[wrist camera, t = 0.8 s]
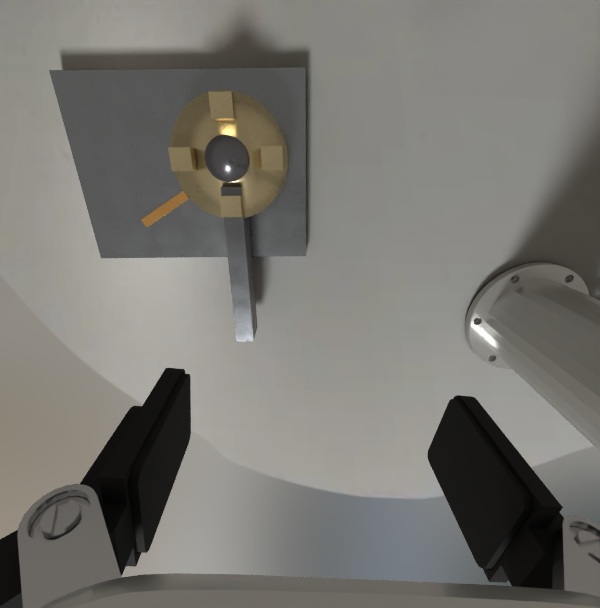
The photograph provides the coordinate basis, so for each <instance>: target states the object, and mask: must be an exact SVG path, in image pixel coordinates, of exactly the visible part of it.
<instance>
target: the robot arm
mask: <svg viewBox="0 0 600 608" xmlns="http://www.w3.org/2000/svg"><path fill="white" fill-rule="evenodd" d="M465 333H466V339H467V341H468V344H469V346H470V347H471V349H472V350H473V351H474V353H475V354H476V355H478V356H479V357H480V358H481V359H482V360H483V361H485V362H486V363H488V364H490V365H493V366H496V367H499V368H505V369H513V370H514V371H515V372H516V373H517V374H518V375H519V376H520V377H521V378H523V379H524V380H525V381H526V382H527V383H528V384H529V385H530V386H531V387H532V388H533V389H534V390H535V391H536V392H537V393H539V394H540V395H541V396H542V397H543V398H544V399H545V400H546V401H547V402H548V403H549V404H550V405H551V406H552V407H553V408H555V409H556V410H557V411H558V412H559V413H560V414H561V415H562V416H563V417H564V418H565V419H566V420H567V421H568V422H569V423H571V424H572V425H573V426H574V427H575V428H576V429H577V430H578V431H579V432H580V433H581V434H582V435H583V436H584V437H585V438H586V439H588V440H589V441H590V442H591V443H592V444H593V445H594V446H595V447H596V448H597V449H598V450H599V451H600V300H598V299H596V298H593V297H591V296H590V295H589V291H588V288H587V286H586V284H585V282H584V280H583V279H582V278H581V277H580V276H579V275H578V274H577V273H575V272H574V271H572V270H570V269H568V268H566V267H563V266H560V265H558V264H553V263H548V262H534V263H528V264H523V265H520V266H517V267H514V268H511V269H509V270H507V271H505V272H504V273H502V274H500V275H498V276H497V277H496V278H494V279H493V280H492V281H490V282H489V283H488V284H487V285H486V286H485V287H484V288H483V289H482V290H481V291H480V292H479V293H478V295H477V296H476V298H475V299H474V300H473V302H472V304H471V306H470V308H469V310H468V313H467V317H466V321H465ZM190 434H191V412H190V375H189V374H185V370H184V369H175V368H166V369H165V371H164V372H163V374H162V375H161V377H160V379H159V380H158V382H157V383H156V385H155V387H154V388H153V390H152V392H151V393H150V395H149V396H148V398H147V400H146V401H145V403H144V404H143V406H133V407H131V408H130V410H129V411H128V412H127V414H126V415H125V417H124V418H123V420H122V421H121V423H120V424H119V426H118V427H117V429H116V431H115V432H114V433H113V435H112V437H111V438H110V440H109V441H108V442H107V444H106V445H105V447H104V449H103V450H102V452H101V453H100V454H99V456H98V457H97V459H96V461H95V462H94V463H93V465H92V466H91V468H90V470H89V471H88V472H87V474H86V476H85V477H84V479H83V480H82V482H81V483H80V484H73V485H67V486H63V487H61V488H58V489H55V490H53V491H52V492H50V493H48V494H46V495H44V496H43V497H42V498H41V499H39V500H38V501H37V502H35V503H34V504H33V505H32V506H31V507H30V509H29V510H28V511H27V512H26V513H25V514H24V516H23V518H22V520H21V522H20V524H19V528H18V530H17V531H15V532H13V533H11V534H9V535H8V536H6V537H4V538H2V539H0V608H600V527H599V526H598V525H596V524H595V523H593V522H591V521H589V520H587V519H585V518H582V517H579V516H567V517H566V518H563V516H562V515H561V514H560V513H559V512H560V510H561V509H562V508H563V507H562V506H561V505H560V504H559V503H558V501H557V500H556V499H555V497H554V496H553V495H552V494H551V492H550V491H549V490H548V489H547V487H546V486H545V485H544V484H543V482H542V481H541V480H540V479H539V477H538V476H537V475H536V474H535V472H534V471H533V470H532V468H531V467H530V466H529V465H528V463H527V462H526V461H525V460H524V458H523V457H522V456H521V455H520V453H519V452H518V451H517V450H516V448H515V447H514V446H513V445H512V443H511V442H510V441H509V440H508V438H507V437H506V436H505V435H504V433H503V432H502V431H501V430H500V428H499V427H498V426H497V425H496V423H495V422H494V421H493V420H492V418H491V417H490V416H489V415H488V413H487V412H486V411H485V410H484V408H483V407H482V406H481V405H480V403H479V402H478V401H477V400H476V399H475V398H474V397H469V396H459V395H458V396H455V397H454V399H451V400H450V401H449V403H448V406H447V408H446V410H445V413H444V415H443V417H442V420H441V422H440V424H439V427H438V429H437V431H436V434H435V436H434V438H433V441H432V443H431V445H430V448H429V450H428V460H429V463H430V465H431V467H432V469H433V471H434V473H435V476H436V478H437V480H438V482H439V484H440V486H441V488H442V490H443V493H444V495H445V497H446V499H447V501H448V503H449V505H450V508H451V510H452V512H453V514H454V516H455V518H456V520H457V522H458V525H459V527H460V529H461V531H462V533H463V535H464V537H465V540H466V542H467V543H468V546H469V548H470V550H471V552H472V554H473V556H474V559H475V561H476V563H477V564H478V565H479V567H481V568H483V570H484V572H485V574H486V576H487V578H488V580H489V582H507V581H508V580H509V581H510V583H511V585H512V586H496V585H477V584H454V583H436V582H413V581H389V580H366V579H341V578H319V577H318V578H316V577H290V576H264V575H234V574H233V575H232V574H151V575H138V576H130V577H123V578H121V575H122V574H123V571H124V569H125V566H136V565H137V562H138V560H139V557H140V555H141V552H147V551H148V550H149V548H150V546H151V543H152V541H153V538H154V535H155V532H156V530H157V527H158V524H159V521H160V519H161V516H162V513H163V511H164V508H165V505H166V503H167V500H168V497H169V494H170V492H171V489H172V487H173V484H174V481H175V478H176V475H177V473H178V470H179V468H180V465H181V462H182V459H183V457H184V454H185V451H186V448H187V446H188V443H189V439H190Z"/></svg>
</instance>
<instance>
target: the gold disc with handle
mask: <svg viewBox="0 0 600 608" xmlns="http://www.w3.org/2000/svg"><path fill="white" fill-rule="evenodd" d="M168 151H169V157H170V163H171V169H172V171H174V173H175V176H176V178H177V180H178V182H179V184H180V186H181V187H182V189H183V191H184V192H185V193H186V195H187V196H188V197H189V198H190V199H191V200H192V201H193V202H194V203H195V204H196V205H197V206H199V207H200V208H201V209H203V210H205V211H206V212H208V213H210V214H212V215H215V216H218V217H222V218H224V225H225V234H226V243H227V253H228V262H229V272H230V281H231V290H232V300H233V309H234V318H235V328H236V337H237V341H254V337H255V333H256V330H257V316H256V302H255V289H254V276H253V262H252V249H251V235H250V222H249V217H250V216H252V215H255V214H257V213H259V212H261V211H262V210H264V209H265V208H266V207H267V206H268V205H270V204H271V203H272V202H273V200H274V199H275V198H276V197H277V195H278V194H279V192H280V191H281V189H282V187H283V185H284V183H285V180H286V176H287V171H288V151H287V146H286V142H285V139H284V136H283V134H282V132H281V130H280V128H279V126H278V124H277V122H276V121H275V119H274V118H273V116H272V115H271V114H270V113H269V111H268V110H267V109H266V108H265V107H264V106H263V105H262V104H260V103H259V102H257V101H256V100H255V99H253V98H251V97H249V96H248V95H245V94H243V93H240V92H236V91H232V90H215V91H211V92H207V93H204V94H202V95H200V96H198V97H197V98H195V99H193V100H192V101H191V102H190V103H189V104H188V105H186V107H185V108H184V109H183V110H182V112H181V113H180V115H179V116H178V118H177V120H176V122H175V125H174V127H173V131H172V135H171V142H170V147H168Z"/></svg>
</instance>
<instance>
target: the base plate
mask: <svg viewBox="0 0 600 608" xmlns="http://www.w3.org/2000/svg"><path fill="white" fill-rule="evenodd" d="M49 71H50V75H51V78H52V82H53V86H54V89H55V93H56V97H57V100H58V104H59V107H60V111H61V115H62V118H63V122H64V125H65V129H66V133H67V136H68V140H69V144H70V147H71V151H72V154H73V158H74V162H75V165H76V169H77V172H78V176H79V180H80V183H81V187H82V191H83V194H84V198H85V201H86V205H87V209H88V212H89V216H90V219H91V223H92V227H93V230H94V234H95V238H96V241H97V245H98V248H99V252H100V256H101V258H156V257H228V253H227V243H226V234H225V225H224V218H222V217H218V216H215V215H212V214H210V213H208V212H206V211H205V210H203V209H201V208H200V207H199V206H197V205H196V204H195V203H194V202H193V201H192V200H191V199H190V198H189V197H188V196H187V195H186V193H185V192H184V191H183V189H182V187H181V186H180V184H179V182H178V180H177V178H176V176H175V173H174V171H172V169H171V163H170V157H169V151H168V147H170V142H171V135H172V131H173V127H174V125H175V122H176V120H177V118H178V116H179V115H180V113H181V112H182V110H183V109H184V108H185V107H186V105H188V104H189V103H190V102H191V101H192V100H193V99H195V98H197V97H198V96H200V95H202V94H204V93H207V92H211V91H215V90H232V91H236V92H240V93H243V94H245V95H248V96H249V97H251V98H253V99H255V100H256V101H257V102H259V103H260V104H262V105H263V106H264V107H265V108H266V109H267V110H268V111H269V113H270V114H271V115H272V116H273V118H274V119H275V121H276V122H277V124H278V126H279V128H280V130H281V132H282V134H283V136H284V139H285V142H286V146H287V151H288V171H287V176H286V180H285V183H284V185H283V187H282V189H281V191H280V192H279V194H278V195H277V197H276V198H275V199H274V200H273V202H272V203H271V204H270V205H268V206H267V207H266V208H265V209H264V210H262V211H261V212H259V213H257V214H255V215H252V216H250V217H249V222H250V235H251V249H252V257H254V256H306V67H289V68H206V69H123V70H49Z"/></svg>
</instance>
